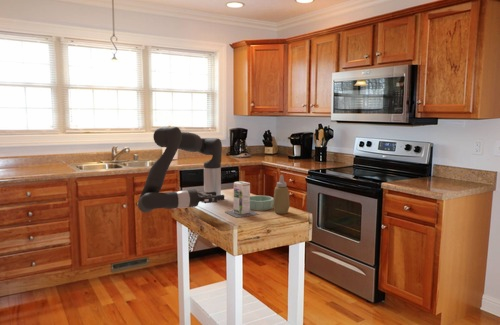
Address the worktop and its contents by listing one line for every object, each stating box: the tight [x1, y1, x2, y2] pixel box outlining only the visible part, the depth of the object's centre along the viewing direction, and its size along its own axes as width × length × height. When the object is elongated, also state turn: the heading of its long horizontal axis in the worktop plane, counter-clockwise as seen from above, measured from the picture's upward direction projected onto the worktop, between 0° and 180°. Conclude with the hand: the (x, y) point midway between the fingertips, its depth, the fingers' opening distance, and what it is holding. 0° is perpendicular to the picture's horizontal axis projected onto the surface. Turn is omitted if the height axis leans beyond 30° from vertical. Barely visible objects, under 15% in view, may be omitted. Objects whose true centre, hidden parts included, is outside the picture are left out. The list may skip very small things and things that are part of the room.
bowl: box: [250, 195, 274, 211], centre depth 198 cm, size 14×14×4 cm
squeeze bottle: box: [273, 174, 291, 215], centre depth 185 cm, size 8×8×18 cm
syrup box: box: [233, 181, 251, 215], centre depth 184 cm, size 6×6×14 cm
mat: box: [224, 210, 260, 219], centre depth 185 cm, size 12×12×1 cm
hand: (219, 195), depth 178 cm, fingers open, 8 cm apart
